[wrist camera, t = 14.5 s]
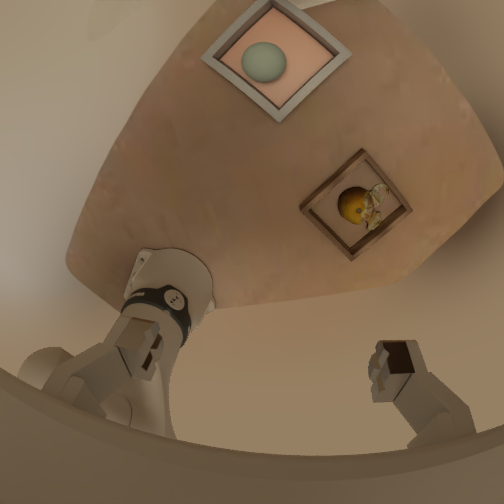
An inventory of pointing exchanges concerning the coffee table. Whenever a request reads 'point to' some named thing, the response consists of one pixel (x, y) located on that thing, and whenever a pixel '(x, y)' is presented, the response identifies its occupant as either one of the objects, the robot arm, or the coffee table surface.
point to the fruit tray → (372, 235)
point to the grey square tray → (290, 42)
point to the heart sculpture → (308, 3)
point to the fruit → (362, 205)
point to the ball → (263, 62)
